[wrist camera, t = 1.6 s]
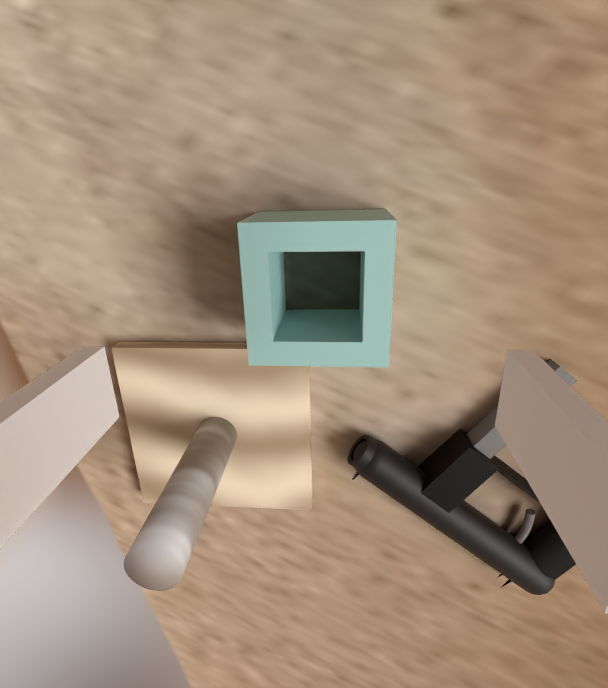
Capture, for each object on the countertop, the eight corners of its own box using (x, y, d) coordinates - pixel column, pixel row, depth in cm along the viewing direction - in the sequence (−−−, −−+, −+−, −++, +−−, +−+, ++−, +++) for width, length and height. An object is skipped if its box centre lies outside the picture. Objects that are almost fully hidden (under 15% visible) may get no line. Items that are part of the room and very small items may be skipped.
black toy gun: (500, 316, 27) (336, 483, 31) (707, 488, 30) (530, 617, 35) (482, 303, 30) (335, 457, 35) (671, 460, 33) (513, 581, 38)
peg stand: (119, 341, 32) (-20, 448, 20) (308, 343, 31) (285, 458, 19) (149, 492, 37) (55, 651, 25) (312, 499, 36) (295, 669, 24)
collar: (258, 211, 28) (237, 222, 22) (385, 209, 27) (396, 220, 21) (266, 329, 31) (248, 365, 25) (380, 330, 30) (388, 367, 24)
